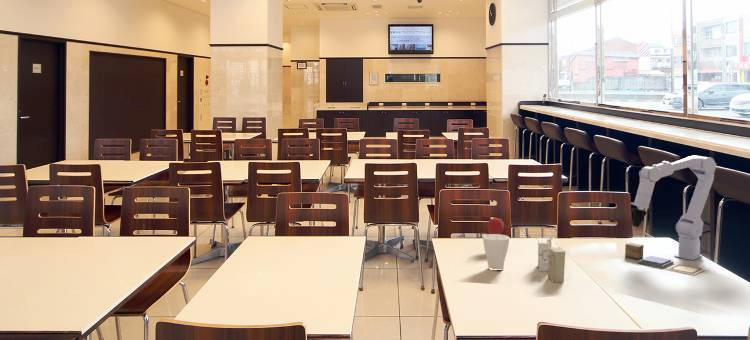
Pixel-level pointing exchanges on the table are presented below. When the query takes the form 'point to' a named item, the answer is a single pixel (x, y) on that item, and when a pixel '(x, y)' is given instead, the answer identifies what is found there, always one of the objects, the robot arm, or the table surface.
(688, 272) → the marked card
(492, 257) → the cup
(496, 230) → the lollipop
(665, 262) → the ink pad
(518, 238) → the table surface
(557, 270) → the skincare box
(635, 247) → the brown rectangular block
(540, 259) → the gray blocky tower
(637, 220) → the robot arm
